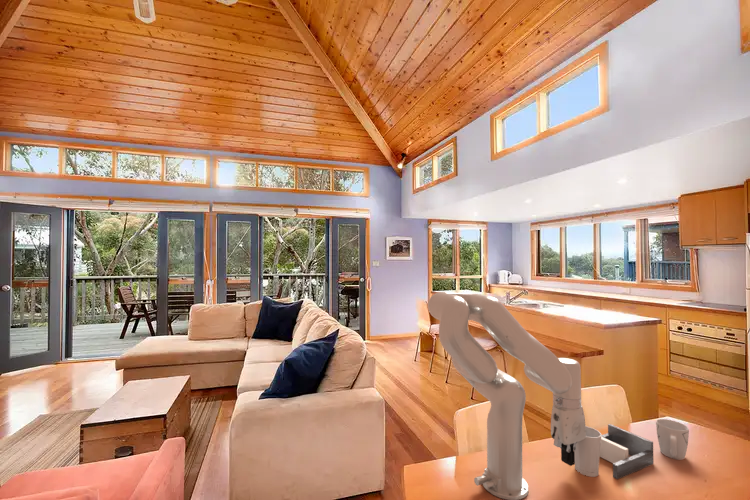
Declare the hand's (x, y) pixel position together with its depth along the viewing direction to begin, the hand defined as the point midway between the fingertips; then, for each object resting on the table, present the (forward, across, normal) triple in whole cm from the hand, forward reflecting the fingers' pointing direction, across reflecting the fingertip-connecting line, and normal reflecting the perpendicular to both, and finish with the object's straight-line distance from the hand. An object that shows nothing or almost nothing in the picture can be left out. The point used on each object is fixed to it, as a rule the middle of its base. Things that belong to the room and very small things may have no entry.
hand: (567, 462), depth 104 cm
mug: (+5, +43, -7) cm, 43 cm away
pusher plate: (+4, +21, 0) cm, 21 cm away
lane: (+5, +22, 0) cm, 22 cm away
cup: (+5, +9, 0) cm, 10 cm away
